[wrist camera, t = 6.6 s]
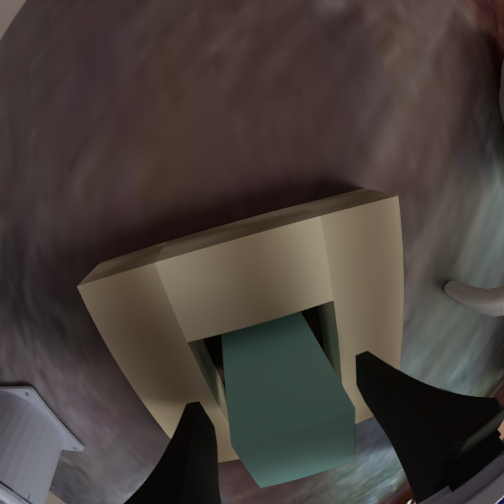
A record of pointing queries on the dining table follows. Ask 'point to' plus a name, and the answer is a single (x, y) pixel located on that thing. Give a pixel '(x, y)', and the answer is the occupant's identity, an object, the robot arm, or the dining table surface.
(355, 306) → the board
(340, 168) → the dining table surface
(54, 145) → the dining table surface
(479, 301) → the spoon rest
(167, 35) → the dining table surface
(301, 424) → the teal block
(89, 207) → the dining table surface
